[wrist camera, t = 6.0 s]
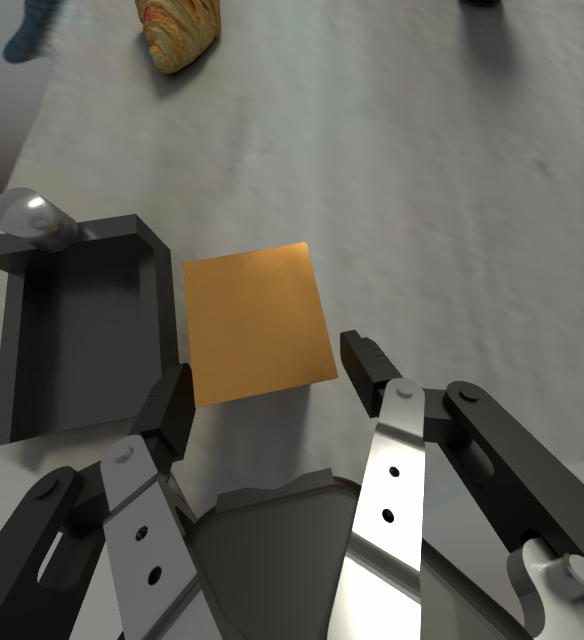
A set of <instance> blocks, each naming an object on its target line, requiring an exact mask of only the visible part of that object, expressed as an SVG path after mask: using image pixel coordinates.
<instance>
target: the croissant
mask: <svg viewBox="0 0 584 640" xmlns="http://www.w3.org/2000/svg"><path fill="white" fill-rule="evenodd" d="M135 4H136V7H137V10H138V15H139V18H140V21H141V22H142V23H143V30H144V34H145V36H146V39H147V41H148V43H149V45H150V50H149V53H150V55H151V56H152V58H153V61H154V63H155V66H156V67H157V69H158V70H159V71H161V72H162V73H164V74H170V73H174V72H176V71H179V70H180V69H182V68H183V67H185V66H187V65H189V64H190V63H191V62H193V61H194V60H195V59H196V58H197V57H198V56H199V55H200V54H201V53H202V52H204V51H205V50H206V49H207V47H208V46H209V45H210V44H211V43H212V42H213V40H214V37H215V38H218V36H219V34H220V30H221V22H220V2H219V0H135Z"/></svg>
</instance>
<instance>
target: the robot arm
mask: <svg viewBox="0 0 584 640" xmlns="http://www.w3.org/2000/svg"><path fill="white" fill-rule="evenodd" d="M340 355H341V361H342V364H343V366H344V368H345V370H346V372H347V374H348V376H349V378H350V380H351V382H352V384H353V386H354V388H355V390H356V392H357V394H358V396H359V398H360V400H361V402H362V404H363V406H364V408H365V409H366V411H367V413H368V415H369V417H370V418H374V417H378V418H379V420H378V424H377V426H376V429H375V433H374V437H373V442H372V446H371V450H370V454H369V459H368V463H367V467H366V472H365V476H364V480H363V485H362V486H361V485H359V484H357V483H355V482H353V481H351V480H348V479H346V478H342V477H335V476H333V475H332V471H331V468H328V469H324V470H320V471H315V472H311V473H307V474H303V475H302V476H300V477H298V478H296V479H295V480H293V481H291V482H289V483H287V484H286V485H284V486H282V487H280V488H279V489H276V490H267V489H254V488H244V489H240V490H236V491H231V492H227V493H223V494H219V495H218V498H217V505H216V506H214V507H213V508H211V509H210V510H209V511H207V512H206V513H205V514H204V515H203V516H202V517H201V518H199V520H198V519H197V517H196V516H195V514H194V513H193V511H192V510H191V508H190V506H189V505H188V503H187V501H186V499H185V497H184V495H183V493H182V491H181V489H180V487H179V485H178V483H177V481H176V479H175V477H174V475H173V473H172V472H171V466H172V463H173V462H175V461H180V460H183V458H184V454H185V450H186V446H187V442H188V439H189V435H190V431H191V427H192V423H193V419H194V415H195V411H196V408H195V398H194V387H193V376H192V370H191V368H190V366H189V364H188V363H182V364H177V365H172V366H170V367H169V368H168V371H167V373H166V375H165V377H164V378H160V379H159V380H158V381H157V383H156V384H155V385H154V386H153V387H152V389H151V391H150V393H149V395H148V398H147V399H146V401H145V403H144V406H143V407H142V409H141V411H140V413H139V415H138V417H137V419H136V421H135V423H134V425H133V427H132V429H131V431H130V433H129V435H128V436H127V437H125V438H123V439H121V440H119V441H118V442H117V443H115V444H114V445H113V446H112V447H111V448H110V449H109V450H108V451H107V452H106V454H105V455H104V457H103V459H102V460H101V461H99V462H97V463H95V464H92V465H90V466H88V467H86V468H84V469H82V470H80V471H78V472H77V471H76V470H74V469H73V468H72V467H69V466H65V467H60V468H58V469H55V470H53V471H52V472H50V473H48V474H47V475H45V476H44V477H43V478H41V479H40V480H39V481H38V482H37V483H35V485H33V487H31V489H30V490H29V491H28V492H27V493H26V495H25V496H24V498H23V499H22V501H21V502H20V503H19V505H18V506H17V508H16V509H15V511H14V512H13V514H12V515H11V516H10V518H9V519H8V521H7V522H6V524H5V525H4V527H3V528H2V529H1V531H0V640H69V637H70V635H71V632H72V630H73V627H74V624H75V621H76V619H77V616H78V613H79V611H80V608H81V605H82V602H83V600H84V597H85V595H86V592H87V589H88V587H89V584H90V581H91V579H92V576H93V573H94V570H95V568H96V565H97V562H98V560H99V557H100V554H101V552H102V549H103V546H104V543H105V541H106V544H107V549H108V554H109V559H110V564H111V570H112V575H113V580H114V585H115V590H116V595H117V600H118V606H119V610H120V616H121V621H122V626H123V632H122V633H121V635H120V636H119V638H118V639H117V640H584V484H583V483H582V482H581V481H580V480H579V479H578V478H577V477H576V476H575V475H574V474H572V473H571V472H570V471H569V470H568V469H567V468H566V467H565V466H564V465H563V464H562V463H561V462H560V461H559V460H558V459H557V458H556V457H555V456H553V455H552V454H551V453H550V452H549V451H548V450H547V449H546V448H545V447H544V446H543V445H542V444H541V443H540V442H539V441H538V440H537V439H536V438H534V437H533V436H532V435H531V434H530V433H529V432H528V431H527V430H526V429H525V428H524V427H523V426H522V425H521V424H520V423H519V422H518V421H517V420H515V419H514V418H513V417H512V416H511V415H510V414H509V413H508V412H507V411H506V410H505V409H504V408H503V407H502V406H501V405H500V404H499V403H498V402H496V401H495V400H494V399H493V398H492V397H491V396H490V395H489V394H488V393H487V392H486V391H485V390H483V389H482V388H480V387H479V386H477V385H474V384H472V383H469V382H464V381H455V382H452V383H450V384H449V385H448V386H447V389H446V390H436V389H424V388H421V387H420V386H419V385H418V384H417V383H415V382H414V381H411V380H409V379H405V378H403V377H402V375H401V374H400V373H399V372H398V370H397V369H396V368H395V366H394V365H393V364H392V363H391V361H390V360H389V359H388V358H387V356H385V354H384V353H383V351H381V349H380V348H379V346H378V345H377V344H376V343H375V342H374V341H372V340H371V339H369V338H367V337H365V338H361V337H360V335H359V334H358V333H357V331H356V330H351V331H346V332H341V334H340ZM423 441H425V442H434V443H438V445H439V446H440V448H441V449H442V451H443V452H444V454H445V456H446V457H447V459H448V460H449V462H450V463H451V465H452V466H453V468H454V469H455V471H456V472H457V474H458V475H459V477H460V478H461V480H462V481H463V483H464V484H465V486H466V487H467V489H468V491H469V492H470V494H471V495H472V497H473V498H474V500H475V501H476V503H477V504H478V506H479V507H480V509H481V510H482V512H483V513H484V515H485V516H486V518H487V519H488V521H489V523H490V524H491V525H492V527H493V528H494V530H495V532H496V533H497V535H498V536H499V538H500V539H501V541H502V542H503V544H504V545H505V547H506V548H507V550H508V551H509V553H510V555H509V556H508V558H507V563H506V564H507V565H506V567H507V573H508V577H509V579H510V582H511V584H512V586H513V588H514V590H515V592H516V594H517V596H518V598H519V601H520V603H521V606H522V610H523V613H524V627H523V626H522V625H521V624H520V623H519V622H518V621H517V620H516V619H514V617H513V616H512V615H510V614H509V613H508V612H507V611H506V610H505V609H504V608H503V607H501V606H500V605H499V604H498V603H497V602H496V601H495V600H493V599H492V598H491V597H490V596H489V595H488V594H486V593H485V592H484V591H483V590H482V589H481V588H480V587H478V586H477V585H476V584H475V583H474V582H473V581H472V580H470V579H469V578H468V577H467V576H466V575H465V574H463V573H462V572H461V571H460V570H459V569H458V568H456V567H455V566H454V565H453V564H452V563H451V562H450V561H448V560H447V559H446V558H445V557H444V556H443V555H442V554H440V553H439V552H438V551H437V550H436V549H435V548H434V547H432V546H431V545H430V544H429V543H428V542H427V541H425V540H424V539H423V538H422V537H421V529H422V526H421V525H422V506H423V484H424V462H425V443H424V442H423ZM58 531H59V532H61V533H63V535H62V537H61V539H60V541H59V543H58V545H57V547H56V549H55V551H54V553H53V555H52V557H51V559H50V561H49V563H48V565H47V567H46V569H45V571H44V573H43V574H42V576H41V578H40V581H39V582H38V581H37V576H38V572H39V568H40V566H41V564H42V562H43V560H44V558H45V556H46V554H47V552H48V551H49V549H50V547H51V545H52V543H53V541H54V539H55V537H56V535H57V533H58Z"/></svg>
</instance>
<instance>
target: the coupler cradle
mask: <svg viewBox="0 0 584 640" xmlns="http://www.w3.org/2000/svg"><path fill="white" fill-rule="evenodd" d="M0 230H2V231H4V232H6V234H0V270H2V271H5V272H8V282H7V292H6V301H5V310H4V319H3V329H2V338H1V347H0V445H4V444H9V443H13V442H17V441H21V440H25V439H29V438H33V437H37V436H42V435H47V434H52V433H56V432H61V431H66V430H71V429H76V428H81V427H86V426H90V425H95V424H100V423H105V422H110V421H115V420H119V419H124V418H129V417H134V416H138V415H139V413H140V411H141V409H142V407H143V406H144V403H145V401H146V399H147V398H148V395H149V393H150V391H151V389H152V387H153V386H154V385H155V384H156V383H157V381H158V380H159V379H160V378H164V377H165V375H166V373H167V371H168V368H169V367H170V366H172V365H177V364H179V357H178V344H177V331H176V318H175V305H174V292H173V279H172V267H171V254H170V249H169V248H168V247H167V246H166V245H165V244H164V243H163V242H162V241H161V240H160V239H159V238H158V237H157V236H156V234H155V233H154V232H153V231H152V230H151V229H150V228H149V227H148V226H147V225H146V224H145V223H144V222H143V221H142V220H141V219H140V218H139V217H138V216H137V215H136V214H132V215H125V216H119V217H112V218H105V219H99V220H92V221H86V222H79V223H76V221H75V220H74V219H73V218H71V217H70V216H69V215H67V214H66V213H65V212H63V211H62V210H60V209H59V208H58V207H56V206H55V205H53V204H52V203H51V202H49V201H48V200H46V199H45V198H44V197H42V196H41V195H39V194H38V193H37V192H35V191H34V190H32V189H29V188H14V189H11V190H8V191H6V192H4V193H2V194H1V195H0Z"/></svg>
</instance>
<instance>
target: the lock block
mask: <svg viewBox="0 0 584 640" xmlns="http://www.w3.org/2000/svg"><path fill="white" fill-rule="evenodd" d="M182 266H183V277H184V288H185V299H186V310H187V321H188V332H189V343H190V354H191V365H192V376H193V387H194V398H195V408H196V407H201V406H206V405H211V404H215V403H220V402H225V401H230V400H235V399H240V398H244V397H249V396H254V395H259V394H264V393H269V392H273V391H278V390H283V389H288V388H293V387H298V386H302V385H307V384H312V383H317V382H322V381H326V380H331V379H336V378H338V374H337V370H336V365H335V361H334V357H333V353H332V349H331V344H330V340H329V336H328V332H327V328H326V323H325V319H324V315H323V311H322V307H321V302H320V298H319V294H318V290H317V286H316V281H315V277H314V273H313V269H312V265H311V260H310V256H309V252H308V248H307V244H306V243H300V244H294V245H288V246H282V247H276V248H270V249H264V250H258V251H252V252H246V253H240V254H234V255H228V256H222V257H216V258H210V259H204V260H198V261H192V262H186V263H182Z"/></svg>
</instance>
